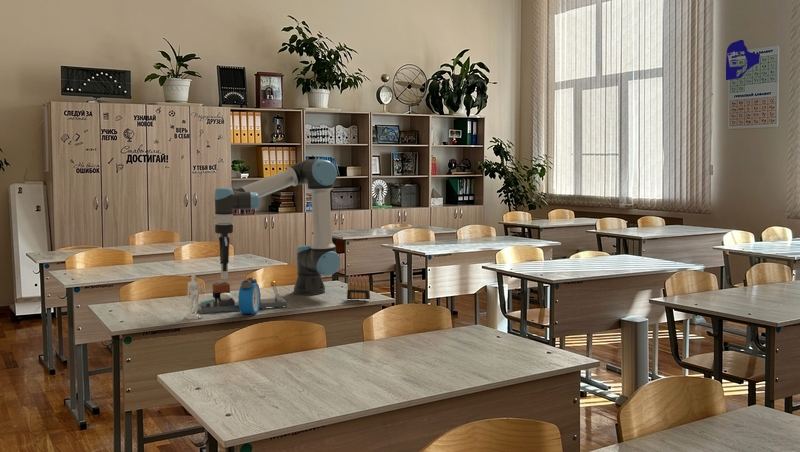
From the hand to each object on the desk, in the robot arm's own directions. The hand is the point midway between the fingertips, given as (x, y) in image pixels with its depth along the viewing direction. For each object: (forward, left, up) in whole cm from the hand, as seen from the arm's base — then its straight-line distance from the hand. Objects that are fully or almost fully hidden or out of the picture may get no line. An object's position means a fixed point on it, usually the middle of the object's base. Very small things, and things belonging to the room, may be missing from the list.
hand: (224, 278), depth 318 cm
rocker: (+7, 0, -10) cm, 12 cm away
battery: (0, -13, -14) cm, 19 cm away
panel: (-8, 0, -14) cm, 16 cm away
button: (0, 0, -10) cm, 10 cm away
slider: (-15, -2, -11) cm, 19 cm away
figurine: (+14, +11, -14) cm, 22 cm away
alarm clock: (-8, +11, -14) cm, 20 cm away
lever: (-23, 0, -11) cm, 26 cm away
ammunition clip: (-60, +2, -14) cm, 62 cm away
